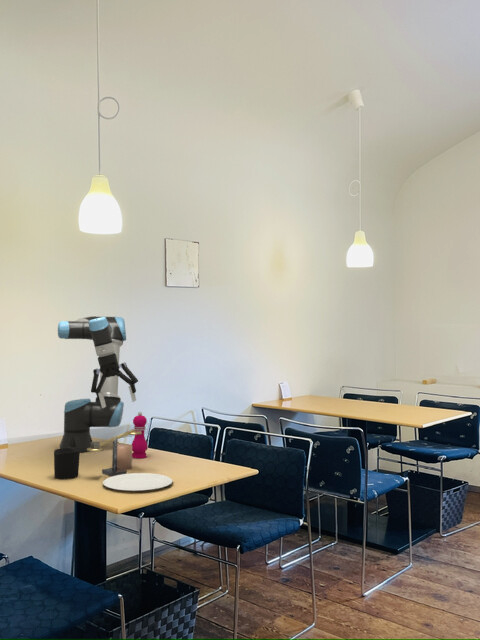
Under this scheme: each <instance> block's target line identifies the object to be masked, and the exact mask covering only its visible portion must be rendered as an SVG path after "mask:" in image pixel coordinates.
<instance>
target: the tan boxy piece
mask: <svg viewBox="0 0 480 640" xmlns="http://www.w3.org/2000/svg"><path fill="white" fill-rule="evenodd" d="M132 453H133V451H132V444H129V443H128V444H127V443H117V468H120V469H123V470H126V471H128V470H129V471H130V470H131V469H132V468H133V467H132V466H133V458H132Z"/></svg>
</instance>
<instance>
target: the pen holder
mask: <svg viewBox="0 0 480 640" xmlns="http://www.w3.org/2000/svg"><path fill="white" fill-rule="evenodd" d="M80 454H81V452H80V450H78V451H76V450H74V449H71V448H61V449H60V448H56V449H54V451H53V470H54V477H55V479H57V480H71V479H75V478H77V477H78V476H79V470H80V469H79V468H80V456H81V455H80Z"/></svg>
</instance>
